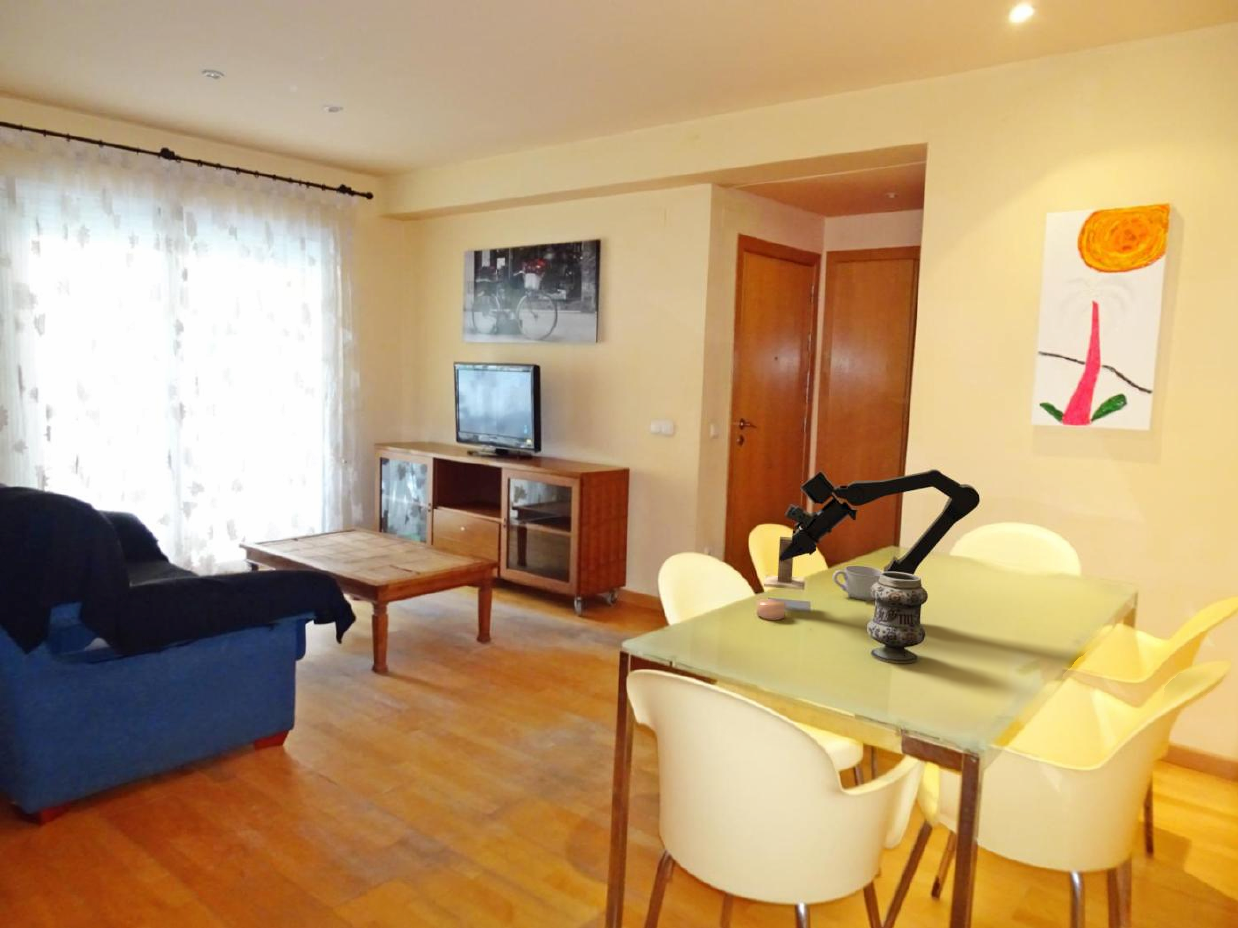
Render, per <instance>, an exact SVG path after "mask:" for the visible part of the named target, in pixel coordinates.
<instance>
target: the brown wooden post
mask: <svg viewBox="0 0 1238 928" xmlns="http://www.w3.org/2000/svg"><path fill="white" fill-rule="evenodd" d="M791 542H792V536H791V537H790V536H780V537H779V548H778V566H777V567H778V569H777V575H771V574H766V575H765V577H764V582H763V587H765V588H777V589H788V590H801V591H805V587H806V586H805V585H806V584H805V583H806V581H805V580H806V579H805V578H806V577H795V576H793V566H794V565H793V564H794V563H793V562H794V557H793V558H790V559H787V560H783V561H781V560H780V559H779V557H780V556H781V554H782V553H783V552H784V551H785V550H786V548H787V547H788V546H789V545H790V543H791Z"/></svg>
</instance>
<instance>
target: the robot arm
mask: <svg viewBox="0 0 1238 928" xmlns="http://www.w3.org/2000/svg"><path fill="white" fill-rule="evenodd" d="M799 488H800V490H801V491H802V492H803V493H804V494H805V495H806V497H808V499H809V500H810V501H811V502H812V503H813V504H814V505H816V504H818V505H820V506H822V505H823V504H824V503H825V502H827V501H828V500H829V499H830V498H831V499H830V500H829V501H828V502H827V503H826V504H825V505H823V506H822V507H821V508H820V509H819V510H817V511H815V510H814V511H813V512H812V513H810V512H808V511H806V510H804V508H803V507H800V506H799V505H798V506H797V505H795V504H794V503H790V505H789V507H788V509H787V510H786V512H785V514H784V517H785V518H787V519H789V520H792V521H793V522H796V523H795V524H794V528H793V529H792V535H791V537H792V542H791V543H790V545H789V546H788V547H787V548H786V550H785V551H784V552H783V553H782V554H781V556H780V557H779V556H778V560H779V559H780V560H781V561H783V560H787V559H790V558H793V559H794V558H796V557H799V556H803V555H808V554H809V556H812V554H814V553H815V552H816V551H817V544H819V543H820V540H821V539H823V538H824V537H825V536H826V535H827V534H831V532H833V529H835V528H836V527H837V526H838V525H839V524H841V522H843V521H844V520H845V519H846V518H848V517H850V518H851V519H852V521H854V522H855V521H856V520H857V512H858V509H857V508H852V507H851V506H850V505H852V506H853V507H854V506H855V507H859V506H864V505H866V504H869V503H872V502H874V501H876V500H878V499H880V498H883V497H886V496H892V495H897V494H901V493H907V492H912V491H917V490H918V491H919V490H921V489H926V488H934V489H936V490H937V491H939V492H941V493H942V494H944V495H946V496H947V497H948V498H947V501H946V503H945V505H944V507H943V509H942V511H941V512H940V513H939V515H938V516H937V517H936V518H935V519H934V520H933V522H932V523H931V524H930V525H929V526H928V527H927V528H926V530H925V531H924V532H923V534H922V535H921V536H920V537H919V538H918V540H917V541H916V542H915V543H914V544H913V545H912V546H911V548H910V549H909V550H908V551H907V552H906V554H904V555H903V556H901V557H900V558H897V557H896V556H895V555H894V556H893V557H892V559H891V561H890V562H889V563H888V564H887V565H886V566H883V571H884V572H901V573H908V574H912V575H915V573H916V571H917V568H918V566H919V565H920V564H921V563H922V562H923V561H924V560H925V559H926V558H927V556H928V555H929V554H930V553H931V552H932V550H934V548H935V547H936V545H937V544H938V543H940V541H941V540H942V539H943V538H944V537H945V536H946V534H947V533H948V532H949V531H950V529H951V528H952V527H953V526H954V525H955V524H956V523H957V522H959V521H960V520H962V519H963V518H965V517H966V516H968V515H969V514H970V513H971V512H972V511H974V510H975V509H976V508H978V506H979V504H980V500H981V498H980V495H979V492H978V491H977V489H976V488H975V487H974V486H972V485H970V484H968V483H967V484H965V483H964V484H961V483H960V482H958V481H956V480H954V479H952V478H950V477H948V476H947V475H945V474H943V473H942V472H941V471H940V470H938V469H934V468H932V469H930V470H927V471H922V472H917V473H912V474H909V475H908V474H907V475H902V476H897V477H892V478H887V479H882V480H881V479H880V480H876V479H873V480H871V479H870V480H869V479H866V480H853V481H851V482H850V483H848V485H847V484H846V485H845V484H844V485H834V484H833V483H832V482H831V481H830V480H829V478H827V476H826V474H825V473H824V472H823V471H821V470H819V472H818V473H817V474H815V475H813V476H812V477H810V478H809V479H808V480H806V482H805V483H803V484H802V486H800V487H799ZM838 498H839V499H842V500H843V501H840V500H839V499H838ZM795 528H796V529H795Z"/></svg>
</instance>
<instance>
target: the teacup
mask: <svg viewBox="0 0 1238 928" xmlns="http://www.w3.org/2000/svg"><path fill="white" fill-rule="evenodd" d="M882 572H884V570H882V569H880V568H876V567H873V566H868V565H858V564H857V565H854V564H852V565H846V566H845V567H844V570H842V569H839V570H835V571H834V573H833V574H832V581H833V582H834V583H835V585H836V586H838V587H840V588H841V589H842V591H844V592H845V593H847V595H848V596H849V597H851V598H853V599H857V600H863V601H866V602H867V601H868V602H869V601H870V602H871V601H875V598H873V596H872V595H871V587H872V586H873V585H874V584H875V583H876V582H878V581H879V579H880V574H881V573H882ZM840 574H841V575H842V576H843V583H841V582H839V581H838V576H839V575H840Z"/></svg>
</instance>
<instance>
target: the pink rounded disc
mask: <svg viewBox="0 0 1238 928" xmlns="http://www.w3.org/2000/svg"><path fill="white" fill-rule="evenodd" d="M756 602H757V603H756V615H757V616H759V617H760V618H761V619H763V620H767V621H778V620H781V619H783V618H785V617H786V613H787V612H786V611H787V610H786V603H785V602H783V601H779V600H774V599H768V598H763V599H759V600H757V601H756Z"/></svg>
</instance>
